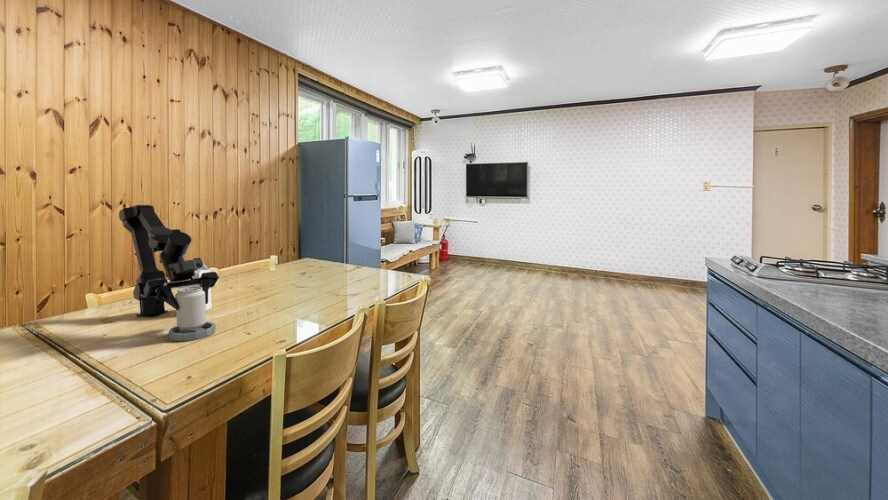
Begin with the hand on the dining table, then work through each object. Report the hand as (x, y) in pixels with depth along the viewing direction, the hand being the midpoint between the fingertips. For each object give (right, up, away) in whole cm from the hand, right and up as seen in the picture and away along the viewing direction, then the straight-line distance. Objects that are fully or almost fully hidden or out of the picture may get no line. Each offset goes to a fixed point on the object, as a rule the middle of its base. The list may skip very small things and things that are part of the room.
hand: (193, 306), depth 111 cm
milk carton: (-15, -6, +24) cm, 29 cm away
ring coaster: (-1, -9, +2) cm, 9 cm away
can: (-1, -7, +2) cm, 7 cm away
